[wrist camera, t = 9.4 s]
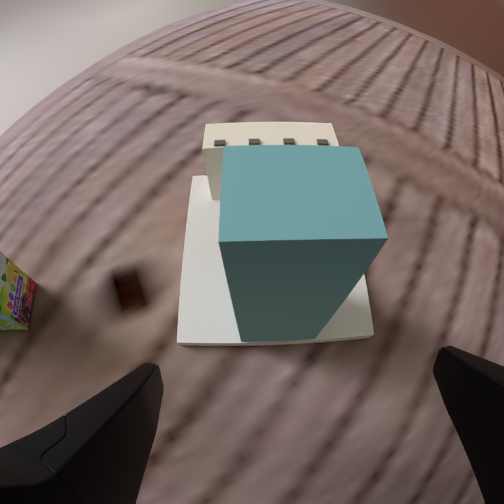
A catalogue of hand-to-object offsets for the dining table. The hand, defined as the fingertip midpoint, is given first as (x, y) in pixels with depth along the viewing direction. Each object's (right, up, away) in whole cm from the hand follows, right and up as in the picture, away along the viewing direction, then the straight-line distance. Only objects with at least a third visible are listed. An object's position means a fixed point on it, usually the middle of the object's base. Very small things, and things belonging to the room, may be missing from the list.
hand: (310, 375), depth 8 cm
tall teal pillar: (0, -1, +13) cm, 13 cm away
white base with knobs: (0, +4, +16) cm, 17 cm away
